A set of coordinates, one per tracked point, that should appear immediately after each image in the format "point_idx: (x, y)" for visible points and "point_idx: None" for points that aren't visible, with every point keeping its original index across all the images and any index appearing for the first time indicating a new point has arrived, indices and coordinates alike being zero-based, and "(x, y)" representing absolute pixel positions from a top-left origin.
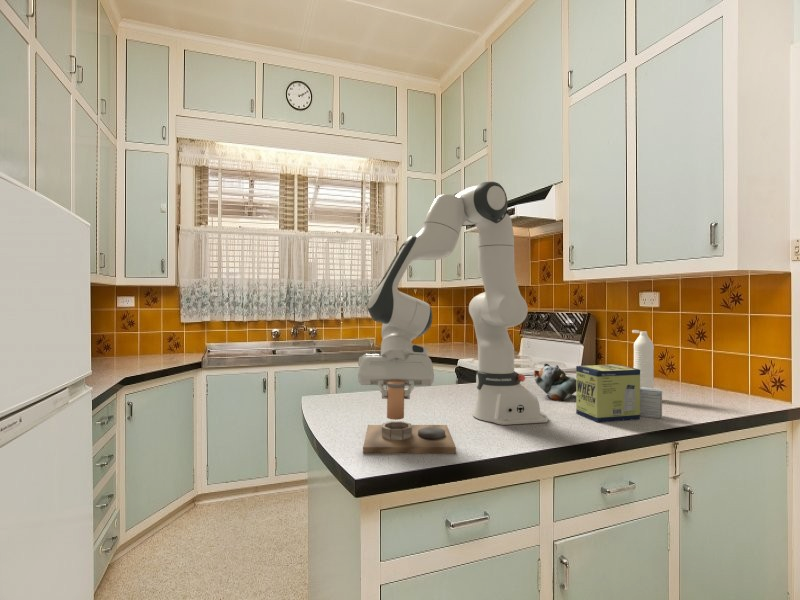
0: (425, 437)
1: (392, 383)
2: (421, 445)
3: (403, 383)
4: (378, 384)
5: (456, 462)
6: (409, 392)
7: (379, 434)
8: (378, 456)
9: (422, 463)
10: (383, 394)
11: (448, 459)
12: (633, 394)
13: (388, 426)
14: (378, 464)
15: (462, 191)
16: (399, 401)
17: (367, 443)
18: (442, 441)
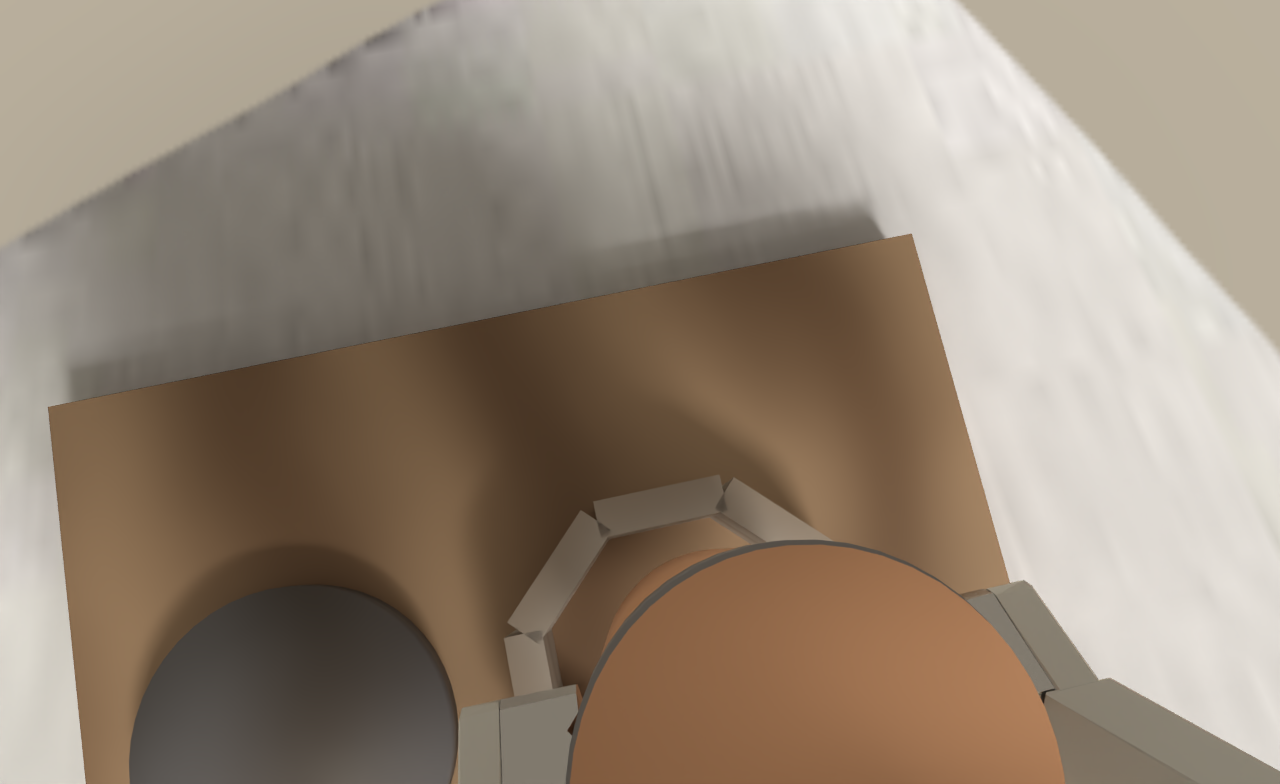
0: (358, 594)
1: (872, 596)
2: (383, 384)
3: (582, 716)
4: (1277, 771)
5: (85, 217)
6: (468, 762)
7: None
8: (747, 219)
9: (362, 145)
10: (998, 595)
11: (151, 268)
12: None
13: None
14: (701, 63)
15: None
16: (654, 580)
17: (905, 337)
18: (179, 549)
